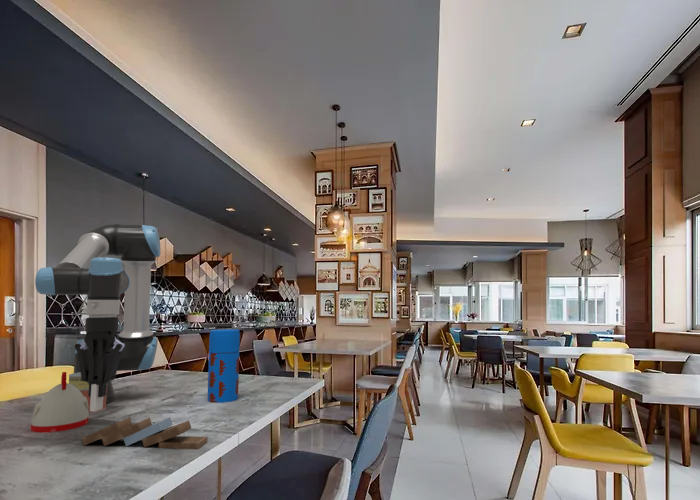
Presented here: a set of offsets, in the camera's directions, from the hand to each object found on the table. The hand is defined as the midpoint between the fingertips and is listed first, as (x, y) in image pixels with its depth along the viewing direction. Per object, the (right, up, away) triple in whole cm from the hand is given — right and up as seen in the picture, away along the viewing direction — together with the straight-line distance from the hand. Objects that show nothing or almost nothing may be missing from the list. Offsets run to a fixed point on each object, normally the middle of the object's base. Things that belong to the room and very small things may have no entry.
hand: (96, 410), depth 107 cm
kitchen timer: (-19, -10, +15) cm, 27 cm away
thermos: (+18, -14, +47) cm, 52 cm away
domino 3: (+10, -7, -2) cm, 12 cm away
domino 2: (+4, -7, -1) cm, 8 cm away
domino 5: (+19, -7, -3) cm, 20 cm away
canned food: (-23, -13, +32) cm, 41 cm away
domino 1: (-1, -7, -1) cm, 7 cm away
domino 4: (+15, -7, -2) cm, 16 cm away
